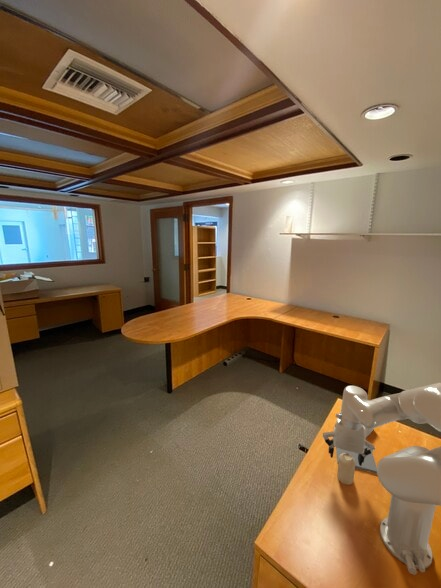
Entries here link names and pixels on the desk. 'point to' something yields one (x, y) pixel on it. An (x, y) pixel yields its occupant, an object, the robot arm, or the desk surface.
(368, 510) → the desk surface
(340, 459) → the candle
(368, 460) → the slate coaster
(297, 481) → the desk surface
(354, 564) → the desk surface
